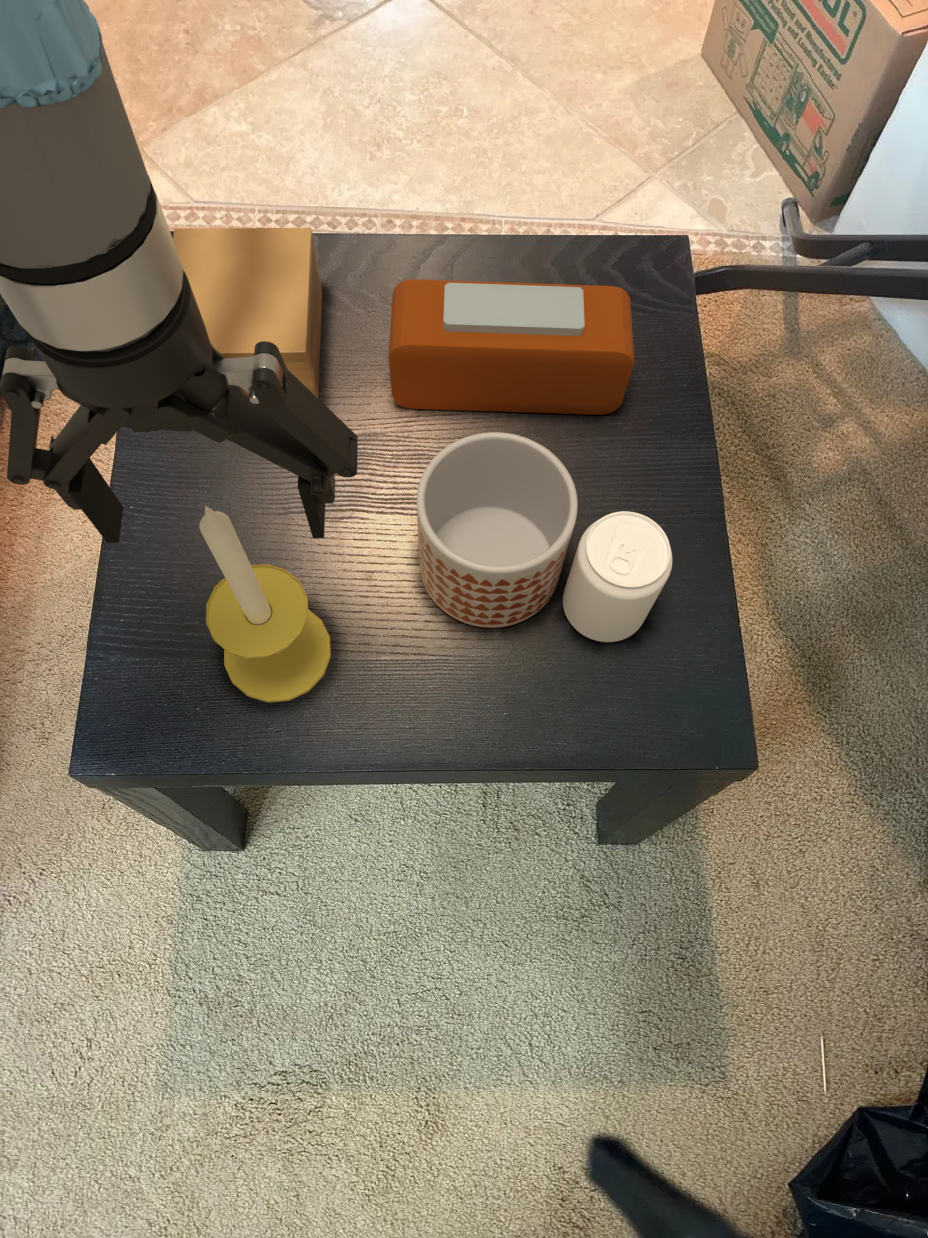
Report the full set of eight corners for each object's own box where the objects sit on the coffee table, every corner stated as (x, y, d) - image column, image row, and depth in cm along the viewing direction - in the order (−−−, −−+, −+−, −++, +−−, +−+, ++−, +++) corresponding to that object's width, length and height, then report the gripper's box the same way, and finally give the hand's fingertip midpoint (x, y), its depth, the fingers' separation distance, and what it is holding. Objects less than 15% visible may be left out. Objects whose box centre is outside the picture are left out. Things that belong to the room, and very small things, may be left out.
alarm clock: (615, 353, 96) (636, 275, 85) (618, 416, 92) (641, 344, 82) (396, 346, 95) (391, 267, 85) (392, 409, 92) (386, 335, 82)
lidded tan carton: (184, 410, 91) (158, 353, 83) (196, 292, 97) (173, 227, 89) (318, 409, 92) (305, 351, 84) (322, 291, 98) (311, 227, 90)
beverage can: (657, 587, 85) (689, 528, 74) (627, 658, 82) (657, 607, 71) (580, 555, 86) (601, 492, 75) (548, 624, 83) (565, 568, 72)
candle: (262, 585, 84) (186, 417, 59) (351, 632, 82) (312, 479, 57) (202, 671, 80) (94, 532, 55) (294, 722, 79) (226, 601, 54)
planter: (494, 658, 81) (503, 603, 70) (390, 567, 85) (382, 500, 73) (588, 562, 86) (611, 496, 74) (485, 480, 89) (491, 403, 77)
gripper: (381, 225, 41) (402, 471, 60) (-162, 232, 40) (38, 478, 60) (381, 355, 38) (403, 568, 58) (-204, 364, 37) (20, 577, 57)
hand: (217, 523), depth 59 cm, fingers open, 13 cm apart
